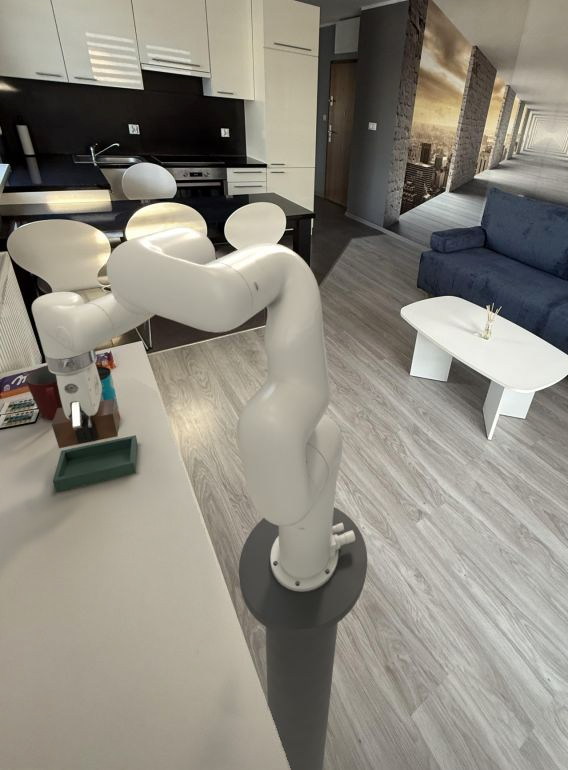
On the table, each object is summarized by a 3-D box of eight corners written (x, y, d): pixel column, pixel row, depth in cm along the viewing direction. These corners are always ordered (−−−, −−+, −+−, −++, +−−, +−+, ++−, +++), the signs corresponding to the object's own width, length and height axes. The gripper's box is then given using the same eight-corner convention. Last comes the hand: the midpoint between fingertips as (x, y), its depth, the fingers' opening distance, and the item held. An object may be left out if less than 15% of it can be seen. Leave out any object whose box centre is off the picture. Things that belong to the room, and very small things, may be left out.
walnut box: (58, 448, 78) (51, 424, 75) (64, 431, 82) (57, 408, 79) (117, 436, 82) (112, 413, 79) (119, 420, 86) (115, 398, 83)
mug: (82, 422, 97) (72, 385, 92) (36, 434, 92) (23, 396, 88) (80, 395, 106) (71, 360, 101) (38, 405, 101) (27, 369, 96)
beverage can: (124, 425, 97) (114, 374, 91) (97, 436, 93) (84, 384, 87) (116, 413, 101) (106, 363, 95) (89, 423, 97) (76, 372, 91)
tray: (137, 445, 92) (135, 435, 91) (135, 473, 85) (133, 462, 84) (64, 461, 86) (61, 450, 85) (55, 492, 79) (52, 481, 78)
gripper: (88, 379, 69) (107, 457, 76) (100, 333, 82) (115, 402, 90) (34, 387, 66) (59, 467, 73) (57, 337, 79) (76, 409, 87)
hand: (90, 431), depth 81 cm, fingers closed on walnut box, 5 cm apart
